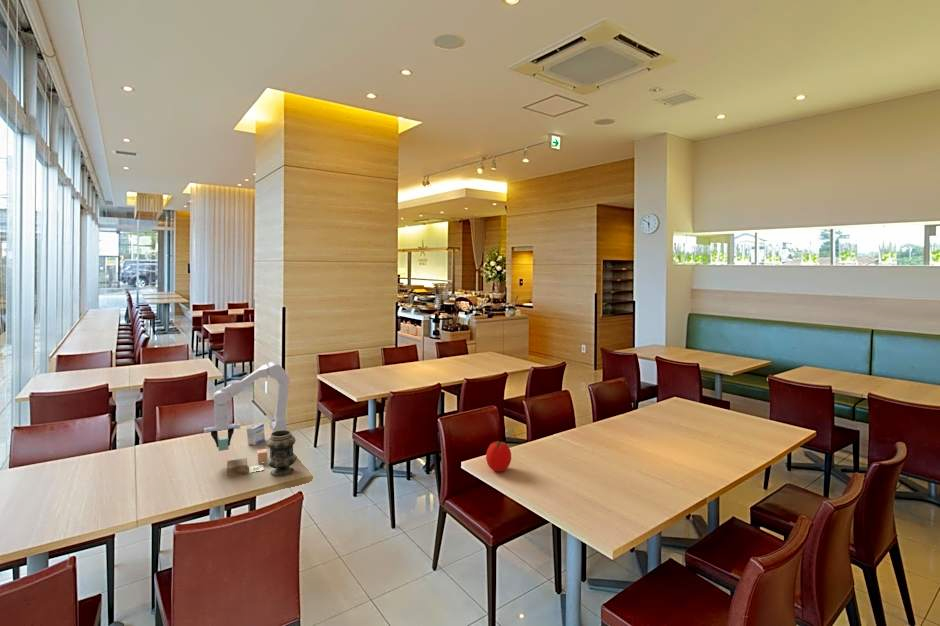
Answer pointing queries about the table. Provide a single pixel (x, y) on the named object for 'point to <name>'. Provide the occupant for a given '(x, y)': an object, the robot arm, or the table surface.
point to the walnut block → (237, 467)
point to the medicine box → (255, 434)
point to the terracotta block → (262, 455)
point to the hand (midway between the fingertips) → (223, 445)
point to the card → (255, 468)
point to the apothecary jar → (281, 453)
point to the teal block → (223, 443)
